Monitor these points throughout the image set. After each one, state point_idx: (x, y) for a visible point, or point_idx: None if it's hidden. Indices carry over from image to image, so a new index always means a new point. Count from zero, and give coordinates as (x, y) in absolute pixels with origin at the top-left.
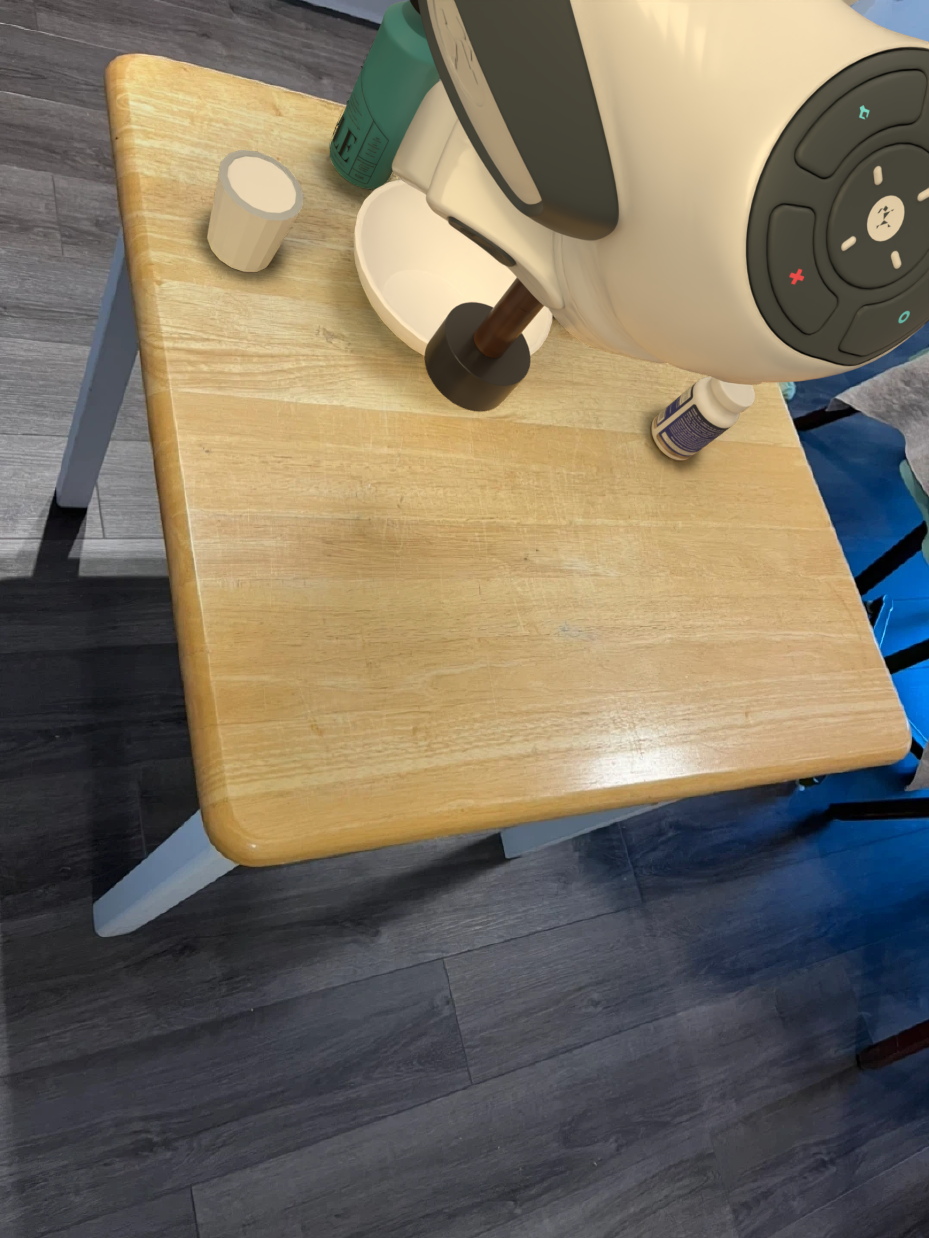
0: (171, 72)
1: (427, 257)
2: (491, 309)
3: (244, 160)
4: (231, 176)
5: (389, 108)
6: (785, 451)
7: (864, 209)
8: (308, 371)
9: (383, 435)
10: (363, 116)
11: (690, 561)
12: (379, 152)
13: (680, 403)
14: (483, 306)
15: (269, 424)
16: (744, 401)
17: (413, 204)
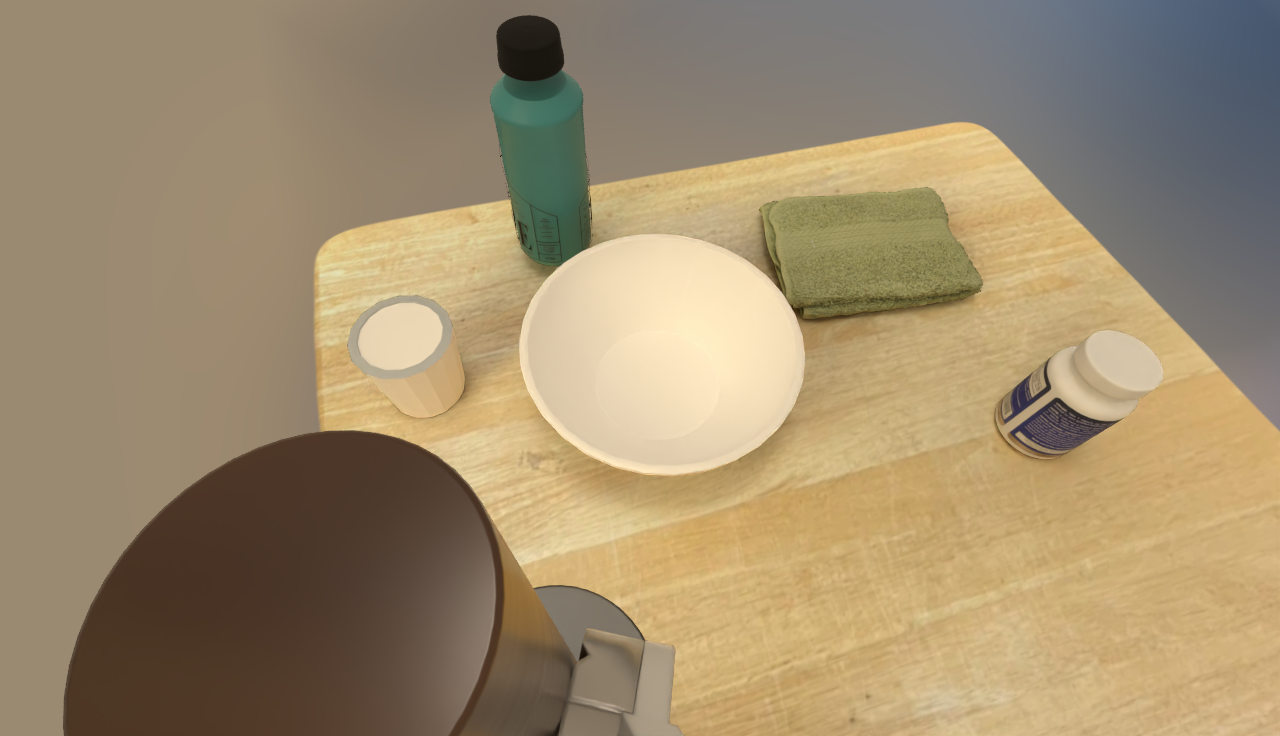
0: (364, 226)
1: (643, 316)
2: (559, 594)
3: (380, 313)
4: (362, 340)
5: (538, 186)
6: (1214, 379)
7: None
8: (509, 520)
9: (613, 579)
10: (520, 203)
11: (1128, 626)
12: (555, 229)
13: (1032, 394)
14: (540, 594)
15: None
16: (1147, 381)
17: (605, 270)
